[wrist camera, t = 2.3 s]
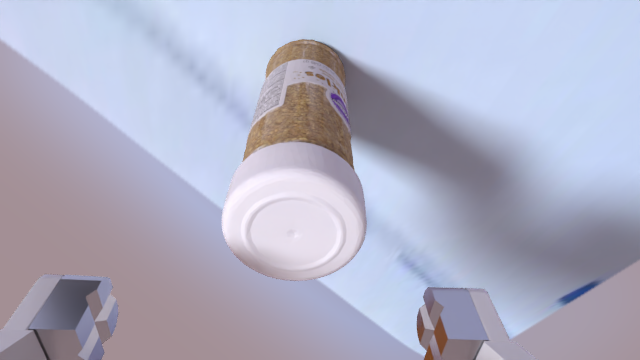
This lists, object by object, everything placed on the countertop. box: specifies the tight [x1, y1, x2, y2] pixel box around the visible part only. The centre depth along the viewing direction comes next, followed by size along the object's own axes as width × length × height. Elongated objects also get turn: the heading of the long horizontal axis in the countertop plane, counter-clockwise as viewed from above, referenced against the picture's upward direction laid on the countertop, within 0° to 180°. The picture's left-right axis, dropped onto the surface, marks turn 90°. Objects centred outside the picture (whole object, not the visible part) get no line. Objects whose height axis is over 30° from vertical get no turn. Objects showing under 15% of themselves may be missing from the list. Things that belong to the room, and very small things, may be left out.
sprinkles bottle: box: [222, 39, 367, 281], centre depth 18 cm, size 5×5×13 cm
